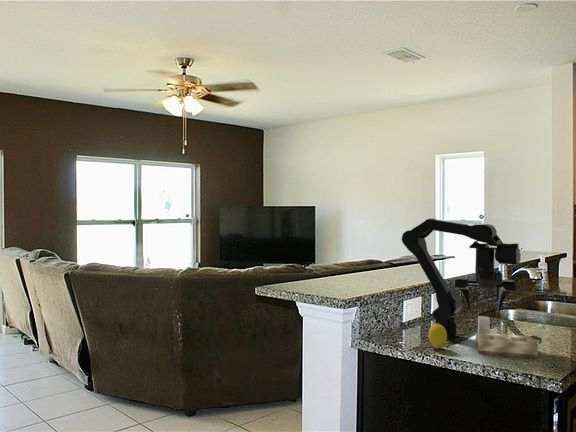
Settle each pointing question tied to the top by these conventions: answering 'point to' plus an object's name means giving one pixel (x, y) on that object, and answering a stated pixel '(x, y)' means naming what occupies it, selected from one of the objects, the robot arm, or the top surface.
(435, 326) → the lemon
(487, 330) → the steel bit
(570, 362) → the top surface
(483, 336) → the socket block
